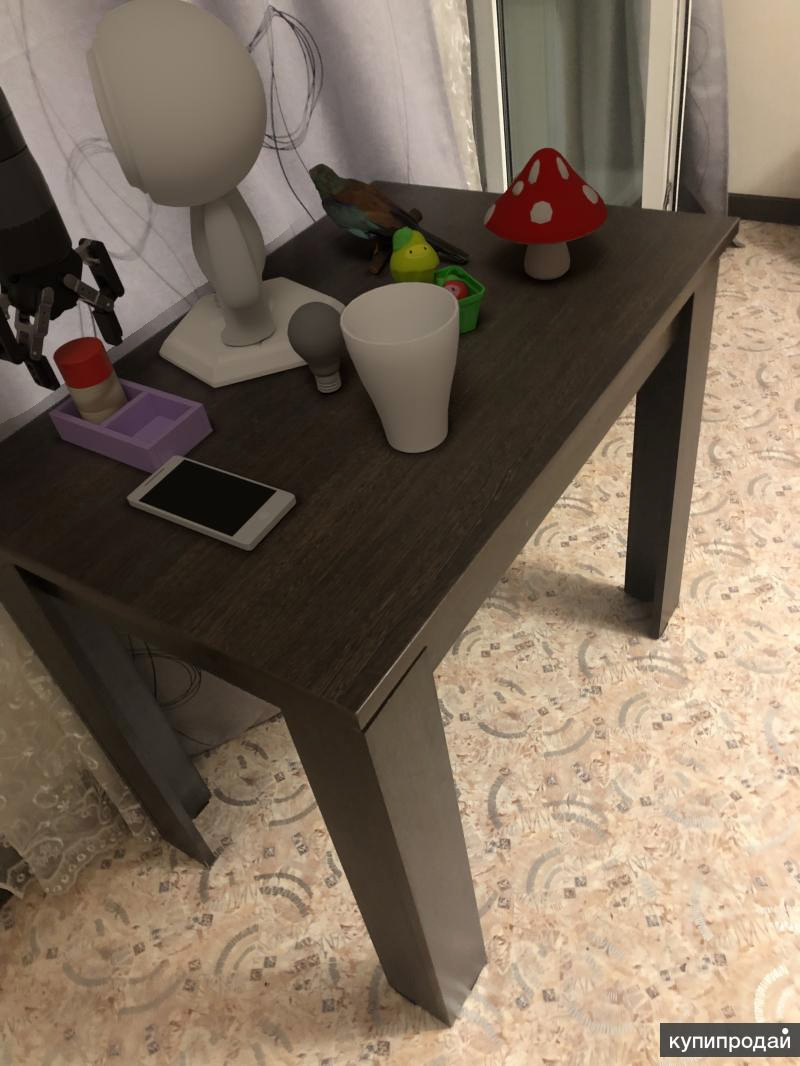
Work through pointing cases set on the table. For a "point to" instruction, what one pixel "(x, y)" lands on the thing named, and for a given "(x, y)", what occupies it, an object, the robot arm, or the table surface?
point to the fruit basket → (435, 274)
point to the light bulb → (318, 342)
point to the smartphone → (212, 501)
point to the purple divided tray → (138, 427)
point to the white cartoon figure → (199, 175)
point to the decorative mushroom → (546, 213)
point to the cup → (406, 358)
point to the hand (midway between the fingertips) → (84, 365)
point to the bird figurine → (371, 215)
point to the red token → (83, 362)
